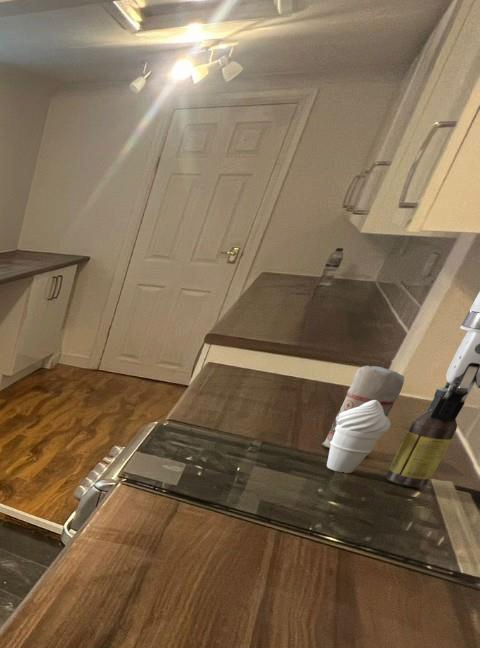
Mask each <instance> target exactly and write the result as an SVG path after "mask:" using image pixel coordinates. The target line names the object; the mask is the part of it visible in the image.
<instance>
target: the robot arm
mask: <svg viewBox="0 0 480 648" xmlns="http://www.w3.org/2000/svg"><path fill="white" fill-rule="evenodd" d="M459 329H460V330H464V331H466V333H465V335H464V337H463V338H462V341H461V343H460V344H459V346H458V348H457V350H456V351H455V353H454V356H453V357H452V360H451V361H450V364H449V366H448V369H447V371H446V374H445V378H446V383H445V384H444V386H443V388H448V389H447V391H446V393H445V395H444V397H443V398H440V400H439V402H438V404H437V405H436V407H435V409H434V411H433V413H432V414H431V418H433V419H439V420H444V421H450V422H453V421H455V419H457V417H458V415H459V414H460V412H461V411H462V409H463V407H464V406H465V402H466V400H467V398H468V396H469V394H470V392H471V390H472V389H473V387H474V385H476V386H477V388H478V389H480V291H479V292H478V293H477V295H476V297H475V299H474V301H473V303H472V305H471V307H470V308H469V310H468V312H467V314H466V316H465V317H464V319H463V321H462V323H461V325H460V327H459Z"/></svg>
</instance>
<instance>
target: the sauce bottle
mask: <svg viewBox="0 0 480 648" xmlns="http://www.w3.org/2000/svg"><path fill="white" fill-rule="evenodd" d="M447 389H448V388H444V387H438V388H436V390H435V392H434V394H433V395H434V396H433V399H432V401H431V403H430V405H429V406H428V407H427V410H426V411H425V412H423V413H421V414H420V415H418V416H417V417H415V419H413V421H412V423H411V425H410V427H409V429H407V431H406V434H405V436H404V438H403V439H402V441H401V444H400V446H399V447H398V449H397V451H396V453H395V455H394V457H393V459H392V461H391V463H390V465H389V467H388V471H387V473H386V479H387V480H388V481H389V482H392V483H395V484H396V485H401V486H406V487H413V488H416V487H417V488H422V487H426V486H427V485H428V482H429V480H431V479H432V478H433V476H434V474H435V472H436V470H437V469H438V466H439V464H440V463H441V461H442V459H443V457H444V455H445V453H446V451H448V448H449V446H450V443H451V442H452V440H453V438H454V436H455V432H456V431H457V429H458V423H457V422H458V421H457V420H456V419H457V418H456V419H455V421H453V422H450V421H444V420H439V419H433V418H431V414H432V413H433V411H434V409H435V407H436V405H437V404H438V402H439V400H440V398H443V397H444V395H445V393H446V391H447Z"/></svg>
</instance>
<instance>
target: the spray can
mask: <svg viewBox="0 0 480 648" xmlns="http://www.w3.org/2000/svg"><path fill="white" fill-rule="evenodd" d="M353 377H354V378H353V381H352V383H351V385H350V387H349V388H348V389H347V392H346V396H345V399H344V401H343V403H342V405H341V407H340V409H339V411H338V413H337V415H336V417H338V416H339V414H340V413H342V412H345V411H347V410H349V409H352V408H356V407H359V406H361V405H363V404H364V403H367V402H369V401H372V400H377V401H378V402H379V403H380V404H381V406H382V408H383V411H384V415H385V416H386V417H387V418H388V416H389V413H390V412H391V410H392V409H393V406H394V404H395V402H396V401H397V399H398V398H399V396H400V394H401V391H402V389H403V386H404V382H405V376H404V374H403V375H402V374H400V373H398V372H397V371H395V370H392V369H388V368H386V367H383V366H376V365H371V366H370V365H363V366H361V367H360V368H358V369H357V371H356V373H355V375H354V376H353ZM336 423H337V421H336V419H334V422H333V423H332V426H331V428H330V430H329V432H328V434H327V436H326V438H325V441H324V442H322V443H321V445H322V446H323V447H325V448H328V449H330V446H331V444H330V442H331V441H332V439H333V436H334V433H335V431H336V430H335V428H336V426H337V424H336Z"/></svg>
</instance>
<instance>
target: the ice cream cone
mask: <svg viewBox="0 0 480 648" xmlns="http://www.w3.org/2000/svg"><path fill="white" fill-rule="evenodd" d="M335 420H336V421H337V423H336V424H337V426H336V428H335V430H336V431H335V433H334V436H333V439H332V441H331V442H330V444H331V446H330V448H329V451H328V457H327V461H326V467H327V469H330V470H331V471H334V472H337V471H338V473H342V472H344V473H343V474H351V473H353V472H354V471H355V470H356V469H357V467H358V466H359V465H360V464H361V463H362V462H363V461H364V459H366V457H367V456H368V455H369V454H370V453H372V451H373V450H372V449H373V448H374V447H375V445H376V444H377V442H378V440H380V439H381V438H382V436H383V435H384V434H385V433H387V432H388V431H389V430H390V427H391V425H392V424H391V423H392V422H391V420H390V419H389V417H388V416H387V417H386V416H385V415H384V411H383V408H382V406H381V404H380V403H379V402H378V401H377V400H372V401H369V402H367V403H364V404H363V405H361V406H359V407H356V408H352V409H349V410H347V411H345V412H342V413H340V414H339V416H338V417H337V416H336V417H335Z"/></svg>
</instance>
